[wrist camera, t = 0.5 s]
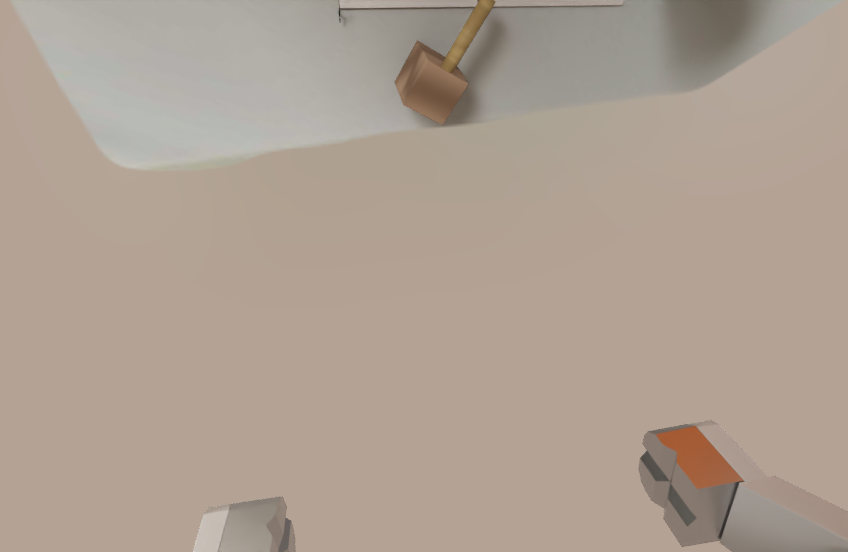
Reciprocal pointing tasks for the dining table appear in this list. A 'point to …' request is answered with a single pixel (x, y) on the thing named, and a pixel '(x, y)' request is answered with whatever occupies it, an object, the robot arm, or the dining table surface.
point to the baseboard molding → (468, 3)
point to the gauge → (439, 71)
